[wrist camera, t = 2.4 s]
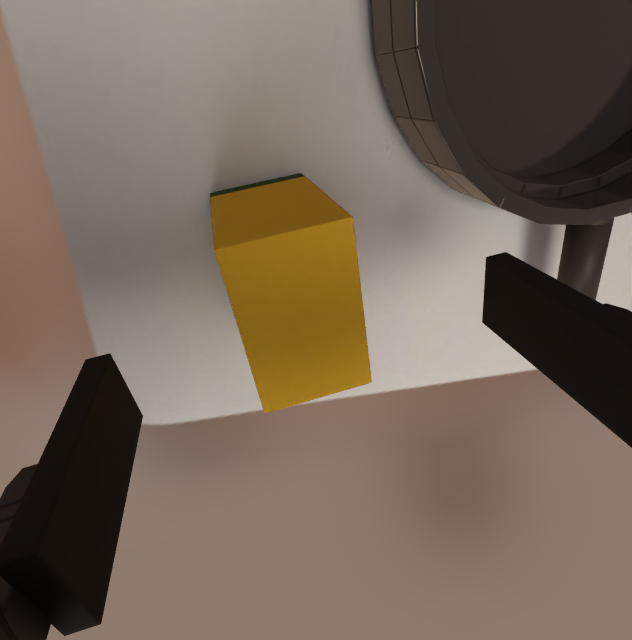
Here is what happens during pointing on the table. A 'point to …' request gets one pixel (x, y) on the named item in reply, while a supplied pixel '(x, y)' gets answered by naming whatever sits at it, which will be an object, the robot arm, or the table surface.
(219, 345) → the table surface
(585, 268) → the pan handle
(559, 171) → the pan
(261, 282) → the sponge
